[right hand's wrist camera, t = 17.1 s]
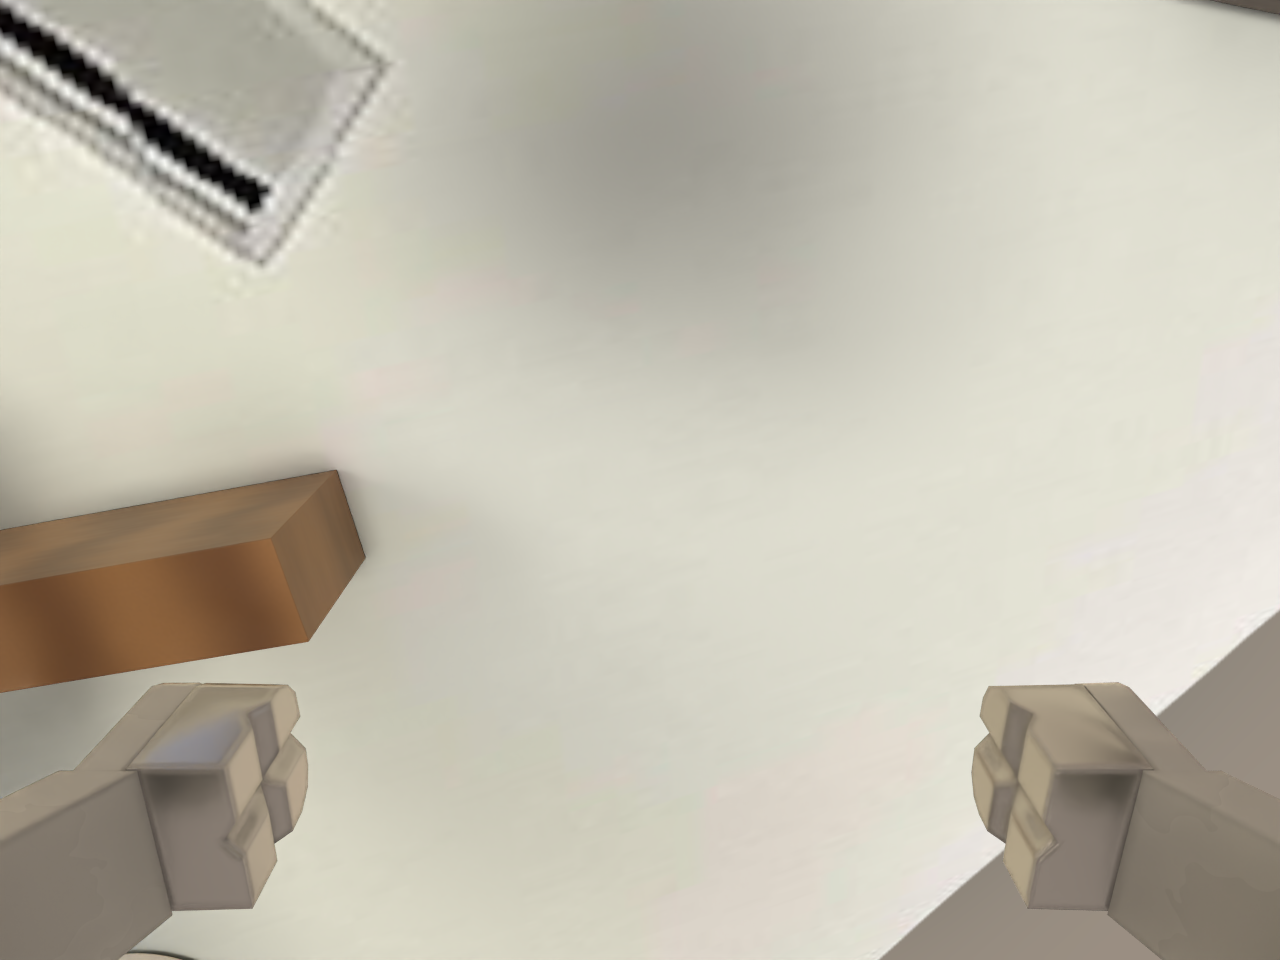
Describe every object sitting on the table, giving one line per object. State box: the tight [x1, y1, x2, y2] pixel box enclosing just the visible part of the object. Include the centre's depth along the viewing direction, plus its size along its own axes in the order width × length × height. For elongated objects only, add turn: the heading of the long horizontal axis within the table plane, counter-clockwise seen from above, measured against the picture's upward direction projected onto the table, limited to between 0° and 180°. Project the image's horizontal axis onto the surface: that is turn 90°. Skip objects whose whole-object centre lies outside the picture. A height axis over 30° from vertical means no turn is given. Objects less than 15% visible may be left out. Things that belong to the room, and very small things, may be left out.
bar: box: [0, 470, 365, 693], centre depth 44 cm, size 22×5×9 cm, turn 101°
